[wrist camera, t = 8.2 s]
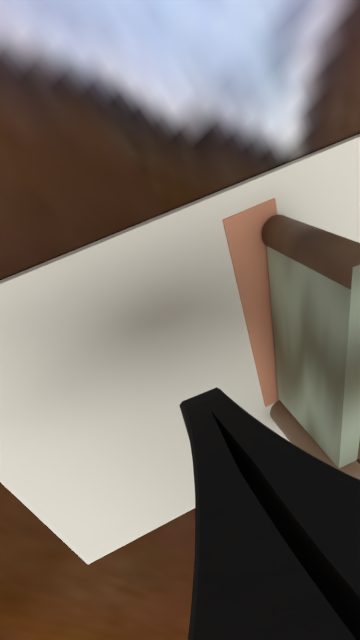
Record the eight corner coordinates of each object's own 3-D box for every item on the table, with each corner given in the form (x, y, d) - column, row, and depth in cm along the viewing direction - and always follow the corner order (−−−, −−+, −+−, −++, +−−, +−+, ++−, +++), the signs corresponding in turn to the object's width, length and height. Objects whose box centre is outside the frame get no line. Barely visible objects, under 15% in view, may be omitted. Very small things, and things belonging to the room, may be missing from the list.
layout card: (452, 365, 26) (546, 419, 21) (87, 558, 22) (98, 677, 17) (512, 71, 16) (719, 45, 11) (-141, 338, 12) (-267, 477, 7)
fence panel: (296, 390, 20) (360, 457, 16) (275, 399, 20) (335, 470, 16) (289, 210, 15) (386, 242, 10) (260, 220, 14) (347, 257, 10)
